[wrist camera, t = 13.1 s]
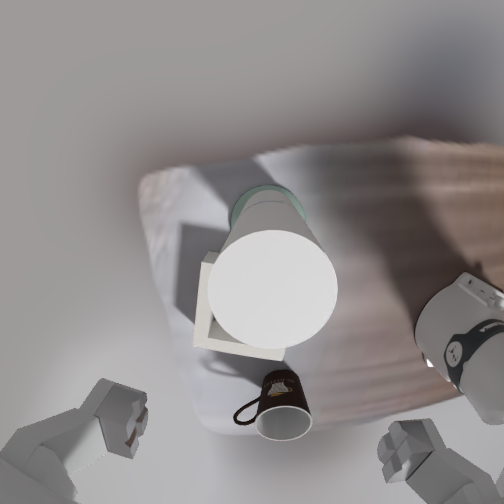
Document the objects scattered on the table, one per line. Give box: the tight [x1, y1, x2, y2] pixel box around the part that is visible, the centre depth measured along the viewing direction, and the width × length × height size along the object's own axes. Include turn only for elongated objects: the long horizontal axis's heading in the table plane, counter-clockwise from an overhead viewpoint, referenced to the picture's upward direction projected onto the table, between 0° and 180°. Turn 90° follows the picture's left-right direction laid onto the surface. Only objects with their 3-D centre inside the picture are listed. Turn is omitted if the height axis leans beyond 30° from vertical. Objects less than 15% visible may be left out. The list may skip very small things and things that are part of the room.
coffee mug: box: [233, 370, 312, 441], centre depth 44 cm, size 12×9×10 cm
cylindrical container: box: [207, 190, 338, 349], centre depth 28 cm, size 7×7×25 cm
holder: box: [193, 251, 286, 361], centre depth 42 cm, size 13×13×5 cm
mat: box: [231, 185, 305, 229], centre depth 41 cm, size 10×10×1 cm
